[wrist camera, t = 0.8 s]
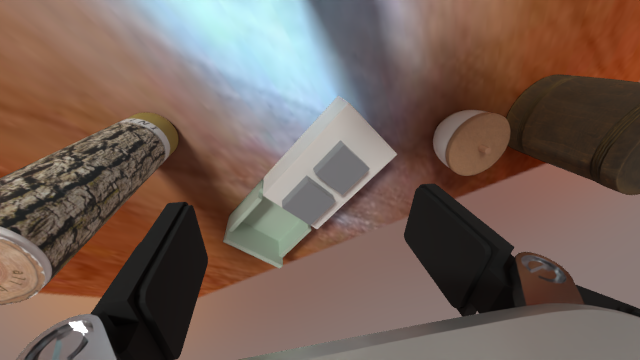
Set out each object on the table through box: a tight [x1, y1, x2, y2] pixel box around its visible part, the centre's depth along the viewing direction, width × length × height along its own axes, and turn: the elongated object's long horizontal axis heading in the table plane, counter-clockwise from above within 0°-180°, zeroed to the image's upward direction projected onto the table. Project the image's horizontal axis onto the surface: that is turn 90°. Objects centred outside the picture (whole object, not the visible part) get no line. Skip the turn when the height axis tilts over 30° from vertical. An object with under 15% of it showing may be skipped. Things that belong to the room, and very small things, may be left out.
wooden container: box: [506, 75, 640, 195], centre depth 37 cm, size 15×15×22 cm
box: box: [223, 180, 311, 268], centre depth 43 cm, size 10×12×7 cm
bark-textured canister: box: [0, 113, 178, 305], centre depth 24 cm, size 7×7×25 cm
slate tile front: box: [313, 140, 370, 195], centre depth 35 cm, size 6×6×2 cm
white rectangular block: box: [263, 96, 397, 229], centre depth 39 cm, size 19×12×6 cm, turn 136°
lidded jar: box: [433, 110, 510, 176], centre depth 40 cm, size 11×11×9 cm
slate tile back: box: [282, 175, 336, 225], centre depth 37 cm, size 6×6×2 cm
